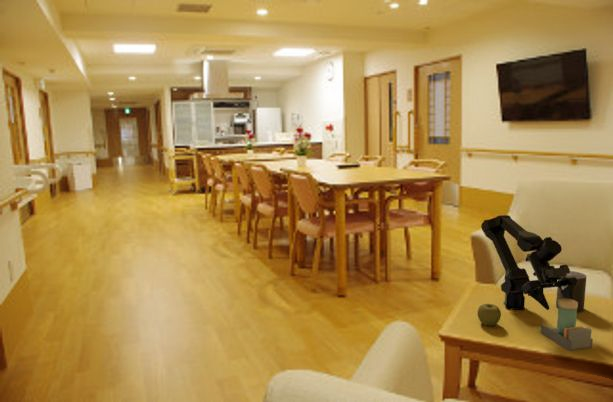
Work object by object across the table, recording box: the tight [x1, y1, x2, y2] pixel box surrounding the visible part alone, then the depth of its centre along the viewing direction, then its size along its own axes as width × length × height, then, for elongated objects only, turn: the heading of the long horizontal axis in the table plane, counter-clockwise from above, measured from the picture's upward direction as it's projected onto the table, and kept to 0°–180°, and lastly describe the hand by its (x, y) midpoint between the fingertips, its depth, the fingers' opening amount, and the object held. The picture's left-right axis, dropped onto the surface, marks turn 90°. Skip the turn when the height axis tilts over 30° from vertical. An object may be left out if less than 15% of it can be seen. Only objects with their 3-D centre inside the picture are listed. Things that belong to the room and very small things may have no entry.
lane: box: [539, 323, 594, 352], centre depth 164 cm, size 14×9×6 cm, turn 11°
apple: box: [477, 303, 502, 327], centre depth 177 cm, size 8×8×7 cm
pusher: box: [564, 325, 585, 339], centre depth 161 cm, size 1×6×5 cm, turn 101°
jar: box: [556, 299, 578, 337], centre depth 164 cm, size 6×6×13 cm
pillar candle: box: [555, 270, 587, 314], centre depth 189 cm, size 10×10×15 cm
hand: (560, 308), depth 166 cm, fingers open, 9 cm apart
